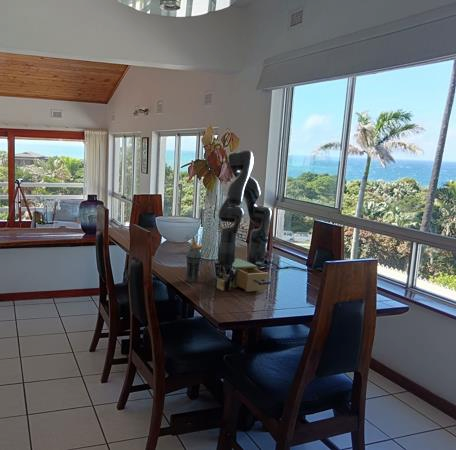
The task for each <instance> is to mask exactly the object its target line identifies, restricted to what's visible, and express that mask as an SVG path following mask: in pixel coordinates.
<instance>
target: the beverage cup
mask: <svg viewBox="0 0 456 450" xmlns="http://www.w3.org/2000/svg"><path fill="white" fill-rule="evenodd" d="M195 241H196V240H195V238H194V239H193V244H194V246H193V248H192V249H191V248H190V249H189V250H188V251H187V253H186V256H185V257H186V281H187V282H188V283H197V282H198V278H199V273H200V266H201V262H202V259H203V255H202V251H201V250H199V249H197V248H195Z"/></svg>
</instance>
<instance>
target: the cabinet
mask: <svg viewBox="0 0 456 450" xmlns="http://www.w3.org/2000/svg"><path fill="white" fill-rule="evenodd" d="M216 263H219V261H218V258H217V259H216ZM232 265H233V269H234V270H236V269H239V268H255V269H257V266H256V265H254V264H251V263H249V262H248V261H246V260H244V259H241V258H238V257H237V258H236V257H235V262H234V263H233V264H232ZM218 271H219V270H218ZM221 275H222V274H221ZM226 275H229V274H226ZM217 278H218V276H216V275H214V279H215V280H217ZM223 278H225V277H223ZM227 279H228V277H227ZM231 279H232V278H231ZM230 288H240V287H239V286H237V285H235V278H234V281H233V282H231V287H230Z"/></svg>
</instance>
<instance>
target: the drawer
mask: <svg viewBox="0 0 456 450" xmlns="http://www.w3.org/2000/svg"><path fill="white" fill-rule="evenodd" d="M236 270H237V272H236V275H235V285H237V286H239V287H238V288H241V289H243V290H244V292H247V293H248V292H260V291H261V292H262V291H268V285H270V284H271V281H270V280H269V277H270V272H264V271H262V270H261V269H255V268H239V269H236Z"/></svg>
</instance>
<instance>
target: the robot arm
mask: <svg viewBox="0 0 456 450" xmlns="http://www.w3.org/2000/svg"><path fill="white" fill-rule="evenodd" d="M227 157H228V158H227V160H228V165H229V168H230V171H231V172H232V174H233V176H234V179H233V180H232V181H231V183H230V184H229V186H228V189H227V192H226V197H225V199H224V201H223V203H222V204H221V206H220V208H219V210H218V218H219V220H220V221H221V222H225V223H233V225H230V226H224V227H222V228H221V230H220V238H219V244H218V253H217V259H218V261H219V263H217V262H215V263H214V273H215V275H216V276H218V278H223V277H225V286H224V290H223V291H230V290H229V288H230V289H231V287H230V282H233V281H234V278H235V275H236V272H237V270H234V269H233V265H232V264H233V263H234V262H235V258H236V252H237V239H238V238H237V237H238V231H239V227H240V225H241V222H242V220H243V218H244V214H245V213H244V209H243V208H242V207H241V204H242V202H243V200H244V203H245V206H246V209H247V214H248V217H249V220H250V221H251V223H253V224H257V225H258V224H259V225H260V227H259V228H255V229H252V230H251V231H250V236H249V245H248V246H249V247H248V252H247V262H249V263H251V264H254V265H256V266H257V269H258V270H264V269H266V268H267V266H268V265H271V264H272V265H274V266H275V267H276V268H277V269H279V270H285V269H289V268H291V269H297V270H302V271H307V272H313V271H321V272H322V271H323V269H322V268H319V267H318V268H317V267H315V268H312V269H308V268H303V267H298V266H293V265H292V266H290V265H289V266H288V265H287V266H284V267H281V266H279V265H278V264H276V263H275V262H272V261H271V260H270V259H268V250H267V249H268V247H267V246H268V239H269V233H270V229H271V228H270V226H271V221H272V209H271V208H270V207H266V206H259V205H257V204H256V203H257V201H258V200H259V199H260V196H261V188H260V186H259V183H258V181H257V179H255V178H254V177H253V176H252V175H251V172H252V170H253V167H254V163H255V162H254V160H255V158H254V154H253V152H252V151H251V150H248V149H247V150H246V149H245V150H236V151H232V152H229V153H228V156H227ZM218 270H219V271H218ZM221 274H222V275H221ZM226 274H229V275H226ZM215 275H214V276H215ZM227 277H228V279H227ZM231 278H232V279H231Z"/></svg>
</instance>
